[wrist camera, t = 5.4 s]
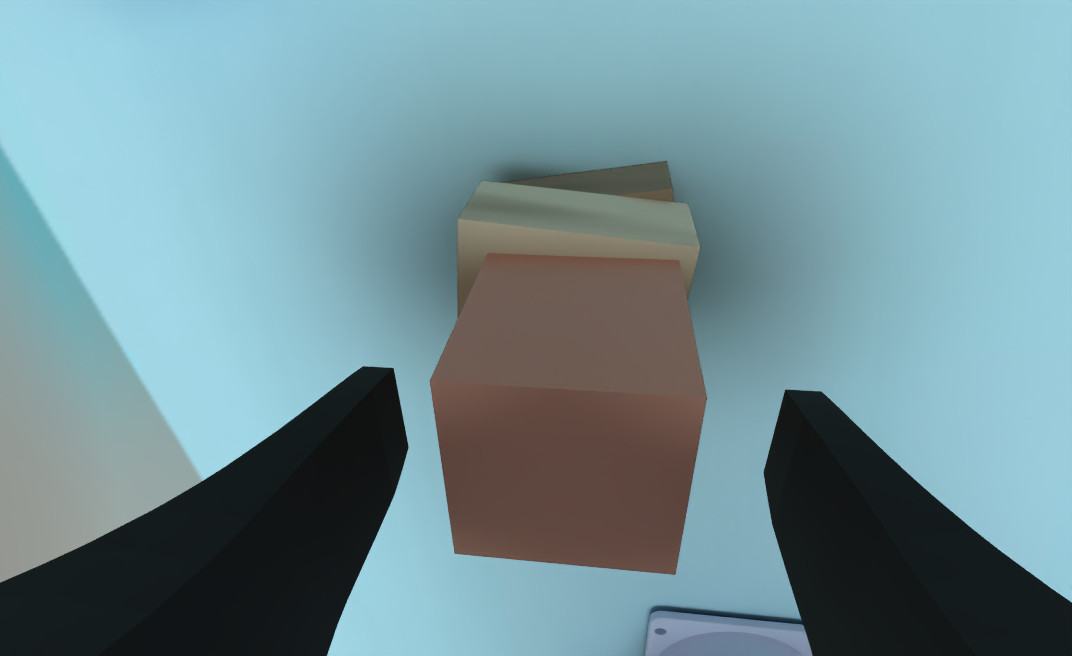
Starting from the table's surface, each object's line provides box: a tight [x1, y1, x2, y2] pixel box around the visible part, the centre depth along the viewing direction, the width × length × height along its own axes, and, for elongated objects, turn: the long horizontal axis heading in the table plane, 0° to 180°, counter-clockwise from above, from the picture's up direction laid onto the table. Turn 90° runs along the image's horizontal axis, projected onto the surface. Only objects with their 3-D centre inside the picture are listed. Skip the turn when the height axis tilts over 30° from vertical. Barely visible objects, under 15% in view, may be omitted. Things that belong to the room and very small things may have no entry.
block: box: [430, 253, 707, 575], centre depth 11 cm, size 4×4×4 cm
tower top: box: [458, 181, 700, 318], centre depth 14 cm, size 5×5×2 cm
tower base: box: [500, 161, 673, 202], centre depth 16 cm, size 5×5×2 cm
